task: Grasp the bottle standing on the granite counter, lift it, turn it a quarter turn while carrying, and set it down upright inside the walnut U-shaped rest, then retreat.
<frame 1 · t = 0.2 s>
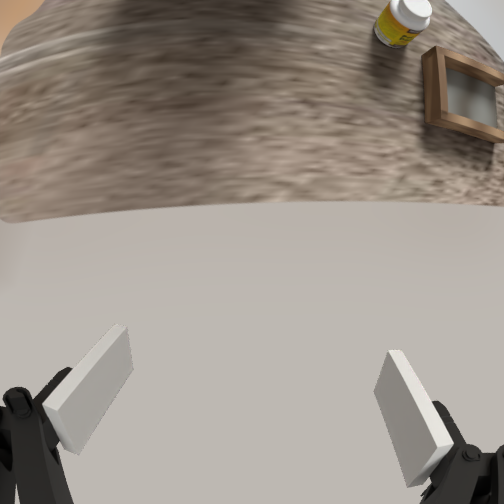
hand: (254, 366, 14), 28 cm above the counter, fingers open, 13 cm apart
walnut u rest: (461, 99, 33), on the counter
supplement bottle: (390, 33, 32), on the counter
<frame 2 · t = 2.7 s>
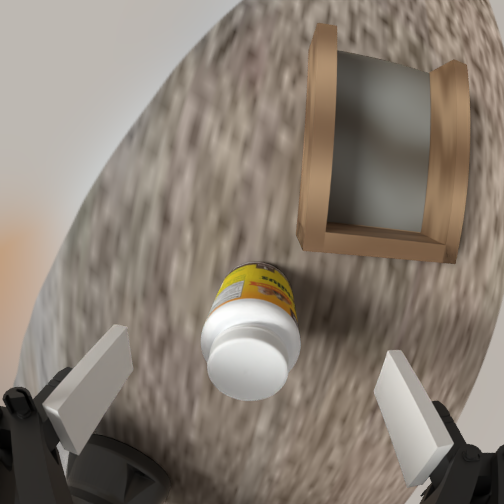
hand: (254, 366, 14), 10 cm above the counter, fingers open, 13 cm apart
walnut u rest: (375, 147, 20), on the counter
supplement bottle: (256, 292, 24), on the counter
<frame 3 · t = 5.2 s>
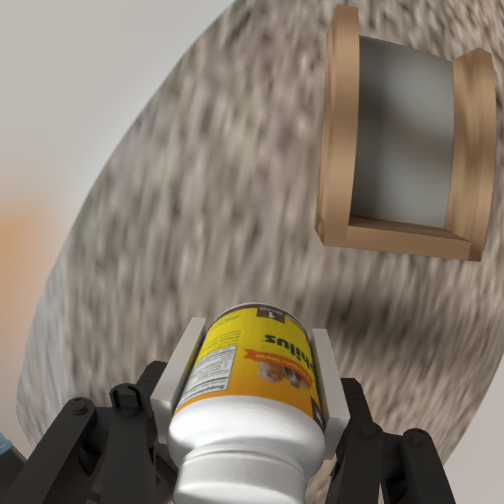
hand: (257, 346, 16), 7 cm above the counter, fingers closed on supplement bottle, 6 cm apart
walnut u rest: (398, 137, 18), on the counter
supplement bottle: (257, 341, 16), point 6 cm above the counter, touching gripper
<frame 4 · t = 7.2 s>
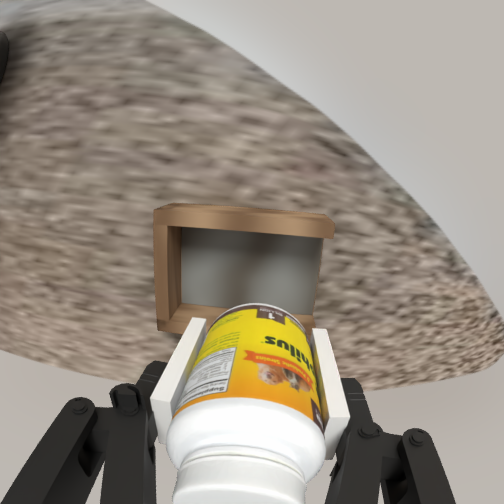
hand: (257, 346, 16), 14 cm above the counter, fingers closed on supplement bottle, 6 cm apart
walnut u rest: (243, 264, 29), on the counter
supplement bottle: (257, 342, 16), point 13 cm above the counter, touching gripper
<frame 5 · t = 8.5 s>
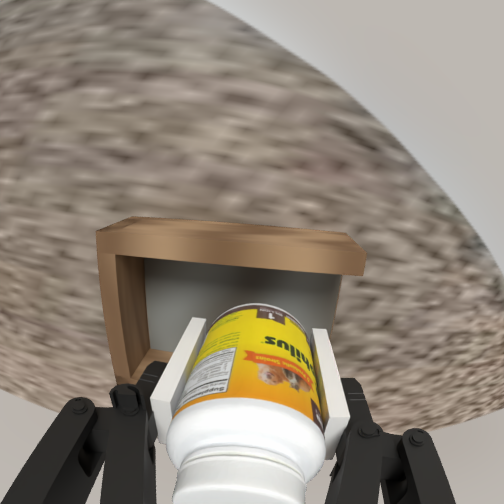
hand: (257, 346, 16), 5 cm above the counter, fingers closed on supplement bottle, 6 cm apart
walnut u rest: (230, 301, 21), on the counter
supplement bottle: (257, 342, 16), point 5 cm above the counter, touching gripper
when the fingers open (2 cm above the counter, at t = 9.5 s): supplement bottle stays where it is, resting on walnut u rest.
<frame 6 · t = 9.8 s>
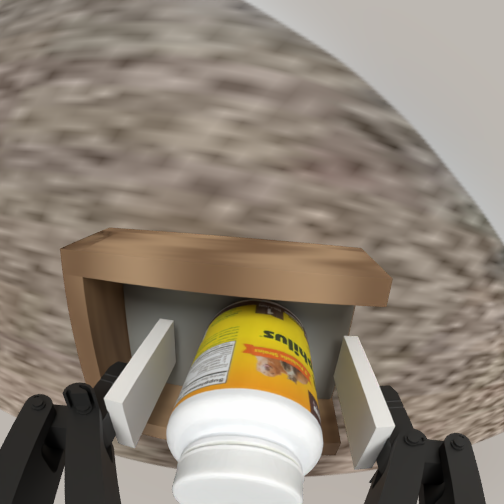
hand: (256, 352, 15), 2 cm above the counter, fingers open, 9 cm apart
walnut u rest: (224, 328, 17), on the counter
supplement bottle: (256, 337, 17), point 1 cm above the counter, touching walnut u rest
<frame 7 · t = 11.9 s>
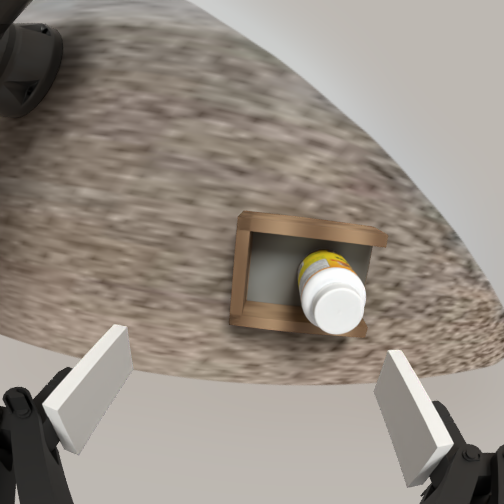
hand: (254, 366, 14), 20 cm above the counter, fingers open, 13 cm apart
walnut u rest: (303, 267, 33), on the counter
supplement bottle: (322, 271, 32), point 1 cm above the counter, touching walnut u rest
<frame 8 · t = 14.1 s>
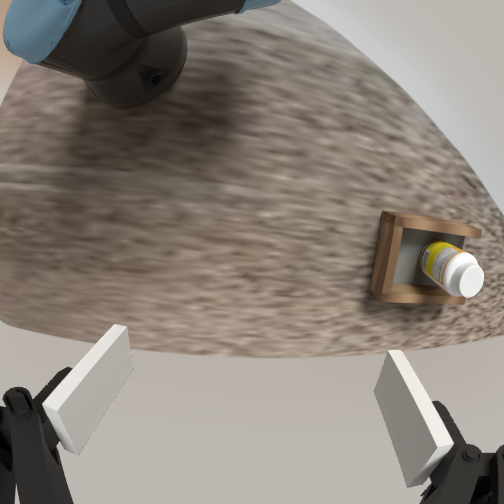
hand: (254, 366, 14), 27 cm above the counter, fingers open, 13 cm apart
walnut u rest: (420, 254, 39), on the counter
supplement bottle: (433, 257, 38), point 1 cm above the counter, touching walnut u rest
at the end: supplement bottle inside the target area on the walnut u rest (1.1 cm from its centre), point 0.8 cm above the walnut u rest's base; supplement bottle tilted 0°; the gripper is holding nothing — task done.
